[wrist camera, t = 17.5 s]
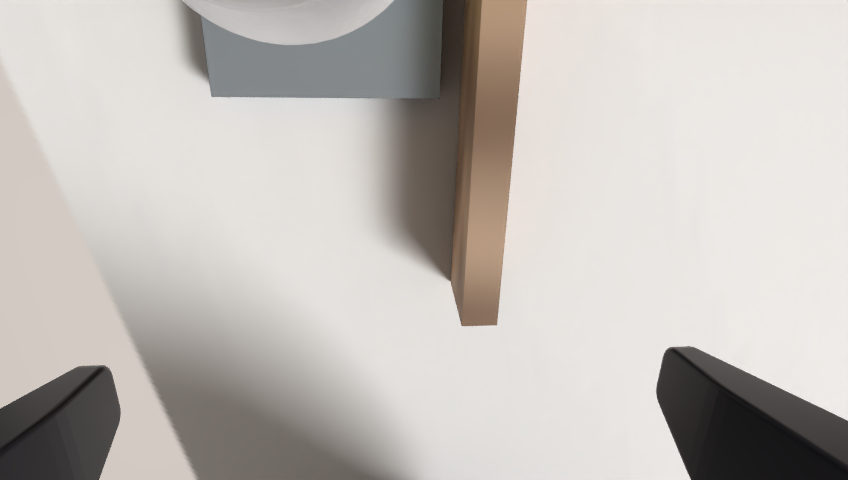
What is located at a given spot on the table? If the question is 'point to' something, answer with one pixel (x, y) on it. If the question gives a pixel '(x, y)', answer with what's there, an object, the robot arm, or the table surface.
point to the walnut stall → (485, 153)
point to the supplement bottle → (289, 18)
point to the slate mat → (335, 59)
